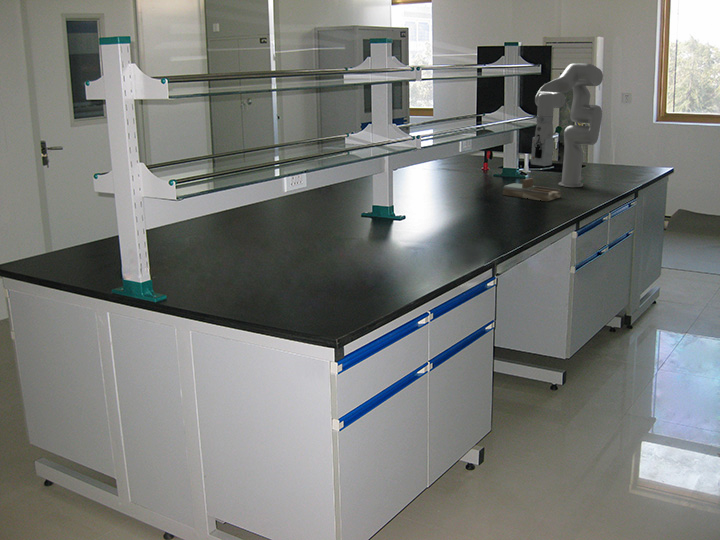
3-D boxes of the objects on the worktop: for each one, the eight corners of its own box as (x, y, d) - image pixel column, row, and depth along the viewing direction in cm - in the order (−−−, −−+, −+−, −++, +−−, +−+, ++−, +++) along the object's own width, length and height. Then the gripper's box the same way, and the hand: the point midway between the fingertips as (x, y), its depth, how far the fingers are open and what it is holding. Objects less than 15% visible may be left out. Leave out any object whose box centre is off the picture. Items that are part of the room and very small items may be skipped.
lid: (513, 185, 384) (514, 175, 382) (535, 188, 376) (535, 178, 375) (503, 187, 377) (504, 177, 375) (524, 190, 369) (525, 180, 368)
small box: (552, 165, 365) (554, 137, 361) (543, 166, 361) (545, 138, 357) (538, 163, 371) (540, 136, 367) (530, 164, 367) (532, 137, 363)
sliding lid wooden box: (517, 190, 386) (517, 183, 384) (560, 197, 370) (561, 189, 369) (502, 194, 376) (503, 186, 374) (546, 201, 360) (547, 193, 359)
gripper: (542, 121, 351) (539, 159, 356) (560, 119, 364) (557, 156, 369) (528, 120, 356) (525, 158, 361) (546, 117, 368) (543, 154, 374)
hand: (541, 156), depth 365 cm, fingers closed on small box, 6 cm apart
